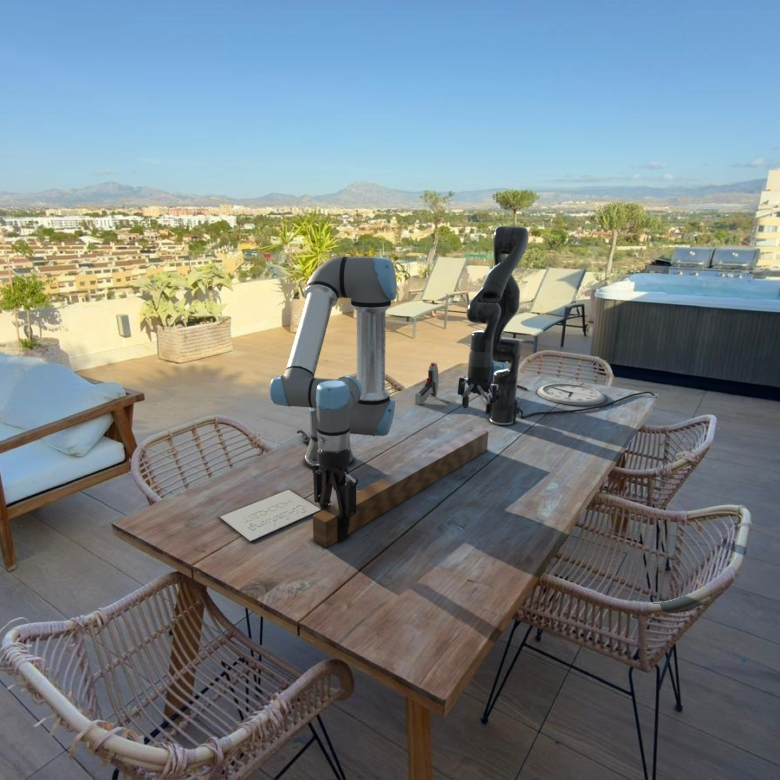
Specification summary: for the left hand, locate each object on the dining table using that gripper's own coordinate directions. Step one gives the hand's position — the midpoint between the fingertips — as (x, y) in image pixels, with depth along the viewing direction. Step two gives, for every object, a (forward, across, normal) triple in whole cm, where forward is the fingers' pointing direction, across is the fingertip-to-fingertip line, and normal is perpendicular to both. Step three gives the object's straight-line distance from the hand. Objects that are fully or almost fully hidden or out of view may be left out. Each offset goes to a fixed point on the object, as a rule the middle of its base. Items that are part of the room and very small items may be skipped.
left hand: (335, 534), depth 129 cm
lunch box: (0, -24, +122) cm, 124 cm away
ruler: (0, -26, +147) cm, 150 cm away
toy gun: (0, -45, +101) cm, 110 cm away
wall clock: (0, 0, +152) cm, 152 cm away
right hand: (-15, 0, +66) cm, 68 cm away
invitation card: (0, -20, -4) cm, 20 cm away
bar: (0, 0, +33) cm, 33 cm away
